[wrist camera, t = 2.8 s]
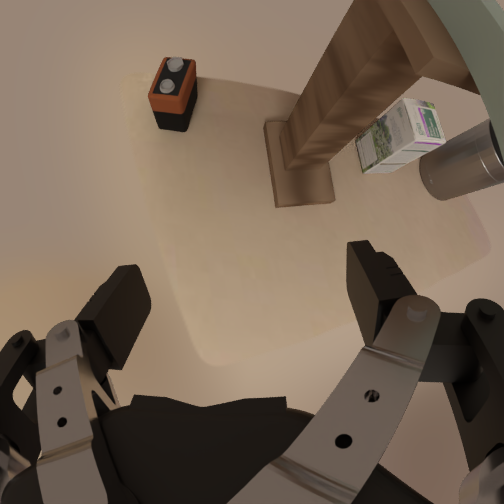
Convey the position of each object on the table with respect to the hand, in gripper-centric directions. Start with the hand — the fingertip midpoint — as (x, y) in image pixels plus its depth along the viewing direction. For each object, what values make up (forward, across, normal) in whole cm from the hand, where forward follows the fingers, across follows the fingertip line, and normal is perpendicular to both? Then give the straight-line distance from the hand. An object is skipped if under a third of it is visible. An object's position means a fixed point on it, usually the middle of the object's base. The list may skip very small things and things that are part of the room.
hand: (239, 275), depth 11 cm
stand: (+33, -5, +3) cm, 33 cm away
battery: (+34, +11, -8) cm, 37 cm away
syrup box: (+36, -17, +3) cm, 40 cm away
